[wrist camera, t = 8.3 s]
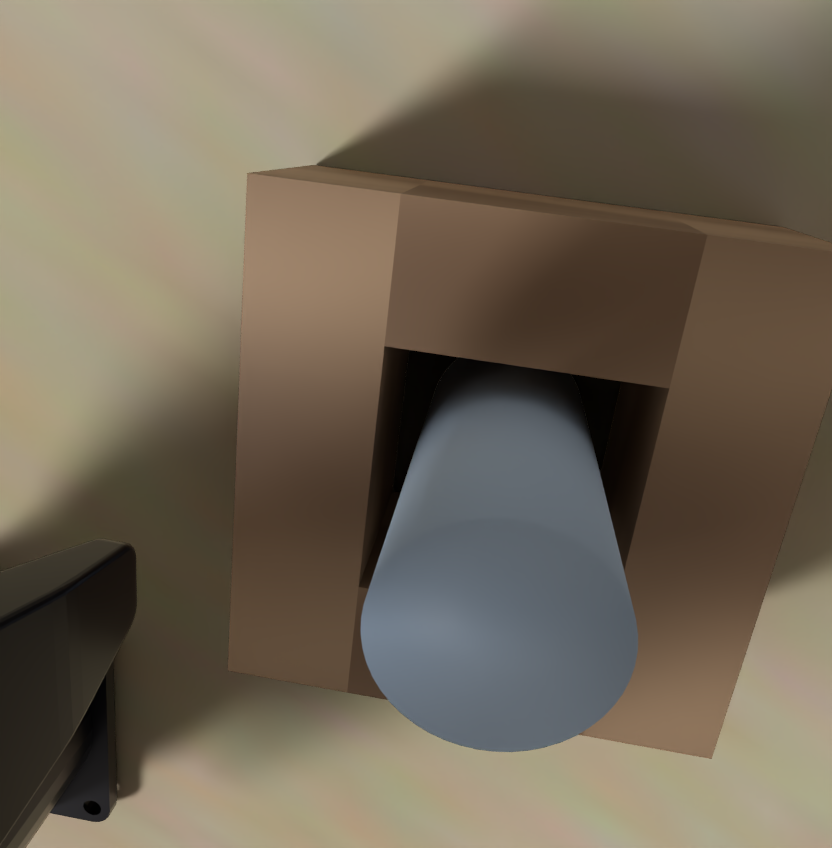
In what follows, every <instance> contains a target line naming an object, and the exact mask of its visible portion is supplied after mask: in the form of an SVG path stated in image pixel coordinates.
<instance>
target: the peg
mask: <svg viewBox="0 0 832 848" xmlns="http://www.w3.org/2000/svg"><path fill="white" fill-rule="evenodd" d="M361 641H362V648H363V652H364V656H365V660H366V663H367V665H368V668H369V670H370V672H371V675H372V677H373V679H374V680H375V682H376V684H377V685H378V687H379V688H380V690H381V691H382V693H383V694H384V695H385V696H386V698H387V699H388V700H389V701H390V703H391V704H392V705H393V706H394V707H395V708H396V709H397V710H398V711H399V712H400V713H401V714H403V715H404V716H405V717H407V718H408V719H409V720H410V721H412V722H413V723H414V724H416V725H417V726H419V727H421V728H422V729H424V730H426V731H427V732H429V733H431V734H433V735H435V736H437V737H439V738H441V739H444V740H446V741H449V742H452V743H455V744H458V745H461V746H465V747H469V748H474V749H479V750H486V751H496V752H516V751H528V750H533V749H539V748H544V747H547V746H551V745H554V744H557V743H560V742H563V741H565V740H567V739H570V738H572V737H574V736H576V735H578V734H580V733H581V732H583V731H585V730H586V729H588V728H590V727H591V726H592V725H594V724H595V723H596V722H598V721H599V720H600V719H601V718H603V717H604V716H605V715H606V714H607V712H608V711H609V710H610V709H611V708H612V707H613V706H614V705H615V704H616V702H617V701H618V700H619V698H620V697H621V696H622V694H623V692H624V691H625V689H626V687H627V685H628V683H629V681H630V679H631V676H632V673H633V670H634V667H635V663H636V658H637V652H638V631H637V623H636V618H635V613H634V609H633V605H632V601H631V597H630V593H629V589H628V585H627V581H626V577H625V573H624V569H623V565H622V561H621V557H620V553H619V548H618V544H617V540H616V536H615V532H614V528H613V524H612V520H611V516H610V512H609V508H608V504H607V500H606V496H605V492H604V488H603V483H602V479H601V475H600V471H599V467H598V463H597V459H596V455H595V451H594V447H593V443H592V439H591V435H590V431H589V427H588V422H587V418H586V414H585V410H584V406H583V402H582V398H581V395H580V391H579V388H578V386H577V384H576V382H575V380H574V378H573V377H572V375H571V374H568V373H562V372H555V371H548V370H542V369H535V368H528V367H521V366H515V365H508V364H501V363H494V362H488V361H481V360H474V359H467V358H461V357H459V358H457V359H456V360H455V361H454V362H453V363H452V364H451V365H450V366H449V367H448V368H447V369H446V371H445V372H444V374H443V375H442V376H441V378H440V380H439V382H438V384H437V386H436V389H435V392H434V394H433V397H432V400H431V403H430V406H429V409H428V412H427V415H426V418H425V421H424V424H423V427H422V430H421V433H420V436H419V439H418V442H417V445H416V448H415V451H414V454H413V457H412V460H411V463H410V466H409V469H408V472H407V475H406V478H405V481H404V484H403V487H402V490H401V493H400V496H399V499H398V502H397V505H396V508H395V511H394V514H393V517H392V520H391V523H390V526H389V529H388V532H387V535H386V538H385V541H384V544H383V547H382V550H381V553H380V556H379V559H378V562H377V565H376V568H375V571H374V574H373V577H372V580H371V583H370V586H369V589H368V592H367V595H366V598H365V601H364V605H363V611H362V616H361Z"/></svg>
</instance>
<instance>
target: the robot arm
mask: <svg viewBox="0 0 832 848" xmlns="http://www.w3.org/2000/svg"><path fill="white" fill-rule="evenodd" d="M136 606H137V586H136V554H135V550H134V548H133V547H132V546H131V545H130V544H128V543H124V542H118V541H112V540H107V539H95V540H92V541H89V542H86V543H83V544H80V545H77V546H74V547H71V548H68V549H65V550H63V551H60V552H57V553H54V554H51V555H48V556H45V557H42V558H39V559H36V560H33V561H30V562H27V563H24V564H21V565H18V566H15V567H12V568H9V569H6V570H3V571H0V848H26V846H27V845H28V844H29V842H30V841H31V839H32V838H33V836H34V835H35V833H36V832H37V831H38V829H39V828H40V826H41V825H42V823H43V822H44V820H45V819H46V818H47V816H48V815H49V813H52V814H57V815H63V816H68V817H73V818H78V819H83V820H88V821H93V822H100V821H103V820H105V819H106V818H107V817H108V816H109V815H110V813H111V812H112V810H113V808H114V807H115V805H116V801H117V783H116V742H115V701H114V660H113V659H114V657H115V656H116V654H117V652H118V650H119V648H120V646H121V644H122V642H123V640H124V638H125V636H126V634H127V632H128V631H129V629H130V627H131V625H132V622H133V619H134V616H135V612H136Z"/></svg>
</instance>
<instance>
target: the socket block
mask: <svg viewBox="0 0 832 848" xmlns="http://www.w3.org/2000/svg"><path fill="white" fill-rule="evenodd" d="M409 350H414V351H420V352H427V353H434V354H441V355H447V356H454V357H461V358H467V359H474V360H481V361H488V362H494V363H501V364H508V365H515V366H521V367H528V368H535V369H542V370H548V371H555V372H562V373H568V374H575V375H582V376H589V377H595V378H602V379H609V380H616V381H621V384H620V389H619V393H618V398H617V402H616V407H615V411H614V416H613V420H612V425H611V429H610V434H609V438H608V443H607V447H606V452H605V456H604V461H603V465H602V469H601V474H600V475H601V479H602V483H603V488H604V492H605V496H606V500H607V504H608V508H609V512H610V516H611V520H612V524H613V528H614V532H615V536H616V540H617V544H618V548H619V553H620V557H621V561H622V565H623V569H624V573H625V577H626V581H627V585H628V589H629V593H630V597H631V601H632V605H633V609H634V613H635V618H636V623H637V631H638V652H637V658H636V663H635V667H634V670H633V673H632V676H631V679H630V681H629V683H628V685H627V687H626V689H625V691H624V692H623V694H622V696H621V697H620V698H619V700H618V701H617V702H616V704H615V705H614V706H613V707H612V708H611V709H610V710H609V711H608V712H607V714H606V715H605V716H604V717H603V718H601V719H600V720H599V721H598V722H596V723H595V724H594V725H592V726H591V727H590V728H588V729H586V730H585V731H583V732H581V733H580V734H578V735H584V736H589V737H595V738H600V739H606V740H611V741H617V742H622V743H627V744H633V745H638V746H644V747H649V748H655V749H660V750H666V751H671V752H677V753H682V754H688V755H693V756H699V757H704V758H710V759H712V756H713V752H714V749H715V746H716V743H717V740H718V737H719V734H720V731H721V728H722V725H723V722H724V719H725V716H726V713H727V710H728V706H729V703H730V700H731V697H732V694H733V691H734V688H735V685H736V682H737V679H738V676H739V673H740V670H741V667H742V664H743V660H744V657H745V654H746V651H747V648H748V645H749V642H750V639H751V636H752V633H753V630H754V627H755V624H756V621H757V618H758V614H759V611H760V608H761V605H762V602H763V599H764V596H765V593H766V590H767V587H768V584H769V581H770V578H771V575H772V572H773V569H774V565H775V562H776V559H777V556H778V553H779V550H780V547H781V544H782V541H783V538H784V535H785V532H786V529H787V526H788V523H789V519H790V516H791V513H792V510H793V507H794V504H795V501H796V498H797V495H798V492H799V489H800V486H801V483H802V480H803V477H804V473H805V470H806V467H807V464H808V461H809V458H810V455H811V452H812V449H813V446H814V443H815V440H816V437H817V434H818V431H819V428H820V424H821V421H822V418H823V415H824V412H825V409H826V406H827V403H828V400H829V397H830V394H831V391H832V243H830V242H827V241H824V240H821V239H818V238H815V237H812V236H809V235H806V234H803V233H800V232H797V231H794V230H791V229H788V228H785V227H779V226H771V225H764V224H756V223H748V222H741V221H733V220H726V219H718V218H711V217H703V216H695V215H688V214H680V213H673V212H665V211H658V210H650V209H642V208H635V207H627V206H620V205H612V204H605V203H597V202H589V201H582V200H574V199H567V198H559V197H552V196H544V195H536V194H529V193H521V192H514V191H506V190H499V189H491V188H483V187H476V186H468V185H461V184H453V183H446V182H438V181H430V180H423V179H415V178H408V177H400V176H393V175H385V174H377V173H370V172H362V171H355V170H347V169H340V168H332V167H324V166H317V165H310V166H302V167H294V168H286V169H278V170H269V171H261V172H253V173H247V194H246V219H245V245H244V270H243V295H242V321H241V346H240V372H239V397H238V422H237V448H236V473H235V499H234V524H233V549H232V575H231V600H230V626H229V651H228V671H232V672H238V673H243V674H249V675H254V676H260V677H265V678H271V679H276V680H282V681H287V682H293V683H298V684H304V685H309V686H315V687H320V688H326V689H331V690H337V691H342V692H348V693H353V694H359V695H364V696H370V697H375V698H381V699H386V700H388V699H387V698H386V696H385V695H384V694H383V693H382V691H381V690H380V688H379V687H378V685H377V684H376V682H375V680H374V679H373V677H372V675H371V672H370V670H369V668H368V665H367V663H366V660H365V656H364V652H363V648H362V641H361V616H362V611H363V605H364V601H365V598H366V595H367V592H368V589H369V586H370V583H371V580H372V577H373V574H374V571H375V568H376V565H377V562H378V559H379V556H380V553H381V550H382V547H383V544H384V541H385V538H386V535H387V532H388V529H389V526H390V523H391V520H392V517H393V514H394V511H395V508H396V505H397V502H398V499H399V496H400V492H394V491H393V484H394V475H395V467H396V459H397V450H398V442H399V434H400V425H401V417H402V409H403V400H404V392H405V384H406V375H407V367H408V358H409Z"/></svg>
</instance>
